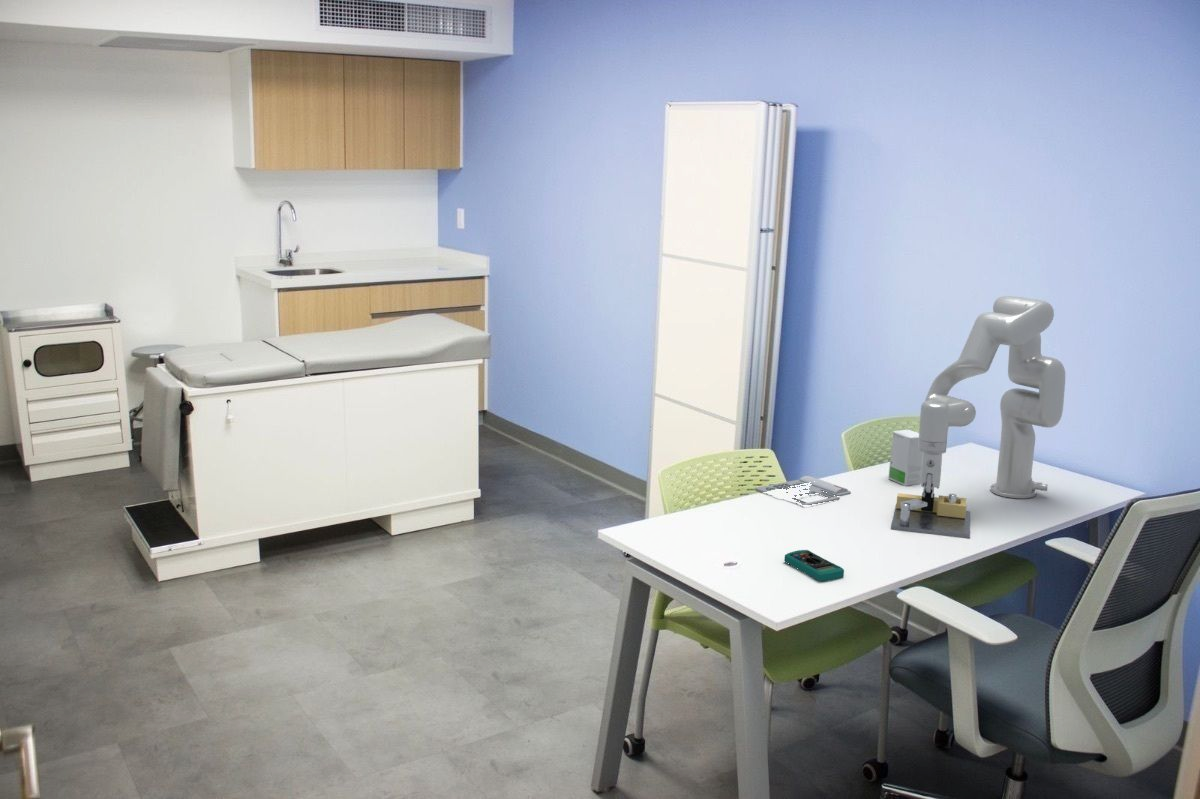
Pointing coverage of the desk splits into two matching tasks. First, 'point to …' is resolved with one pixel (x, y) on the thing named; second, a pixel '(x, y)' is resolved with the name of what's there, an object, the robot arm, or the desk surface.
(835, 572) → the digital multimeter
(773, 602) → the desk surface
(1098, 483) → the desk surface
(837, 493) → the office telephone
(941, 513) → the link
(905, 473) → the skincare box
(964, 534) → the pintle plate
